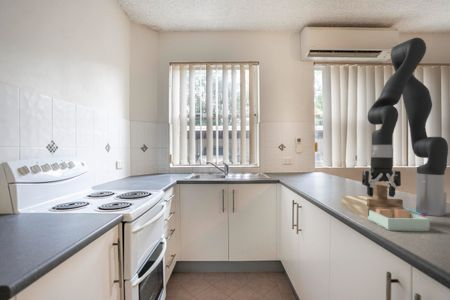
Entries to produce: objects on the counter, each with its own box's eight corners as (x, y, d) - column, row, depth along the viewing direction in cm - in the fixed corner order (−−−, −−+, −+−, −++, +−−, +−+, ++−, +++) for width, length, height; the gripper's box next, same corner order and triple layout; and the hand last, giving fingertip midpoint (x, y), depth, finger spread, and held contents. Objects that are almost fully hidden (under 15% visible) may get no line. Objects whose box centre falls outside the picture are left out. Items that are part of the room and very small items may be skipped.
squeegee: (366, 198, 131) (385, 198, 130) (366, 201, 131) (385, 202, 130) (400, 214, 102) (425, 214, 101) (400, 218, 102) (425, 218, 101)
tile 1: (387, 208, 93) (391, 210, 91) (387, 220, 93) (391, 222, 91) (376, 208, 92) (379, 210, 90) (375, 220, 92) (379, 222, 90)
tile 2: (405, 209, 93) (410, 210, 91) (405, 220, 93) (409, 222, 91) (394, 209, 92) (398, 210, 90) (394, 220, 92) (398, 222, 90)
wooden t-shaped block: (391, 203, 102) (391, 184, 102) (402, 207, 95) (403, 187, 95) (360, 203, 102) (360, 184, 102) (369, 207, 95) (369, 186, 95)
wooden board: (370, 206, 117) (370, 196, 117) (403, 220, 95) (404, 207, 95) (341, 206, 117) (341, 195, 117) (367, 219, 95) (368, 207, 95)
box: (403, 220, 95) (404, 210, 95) (429, 230, 83) (429, 219, 83) (367, 219, 95) (367, 209, 95) (388, 230, 83) (388, 218, 83)
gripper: (393, 156, 102) (392, 194, 102) (358, 155, 102) (358, 194, 102) (406, 156, 94) (405, 198, 95) (369, 156, 94) (368, 198, 95)
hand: (380, 196), depth 98 cm, fingers open, 8 cm apart
